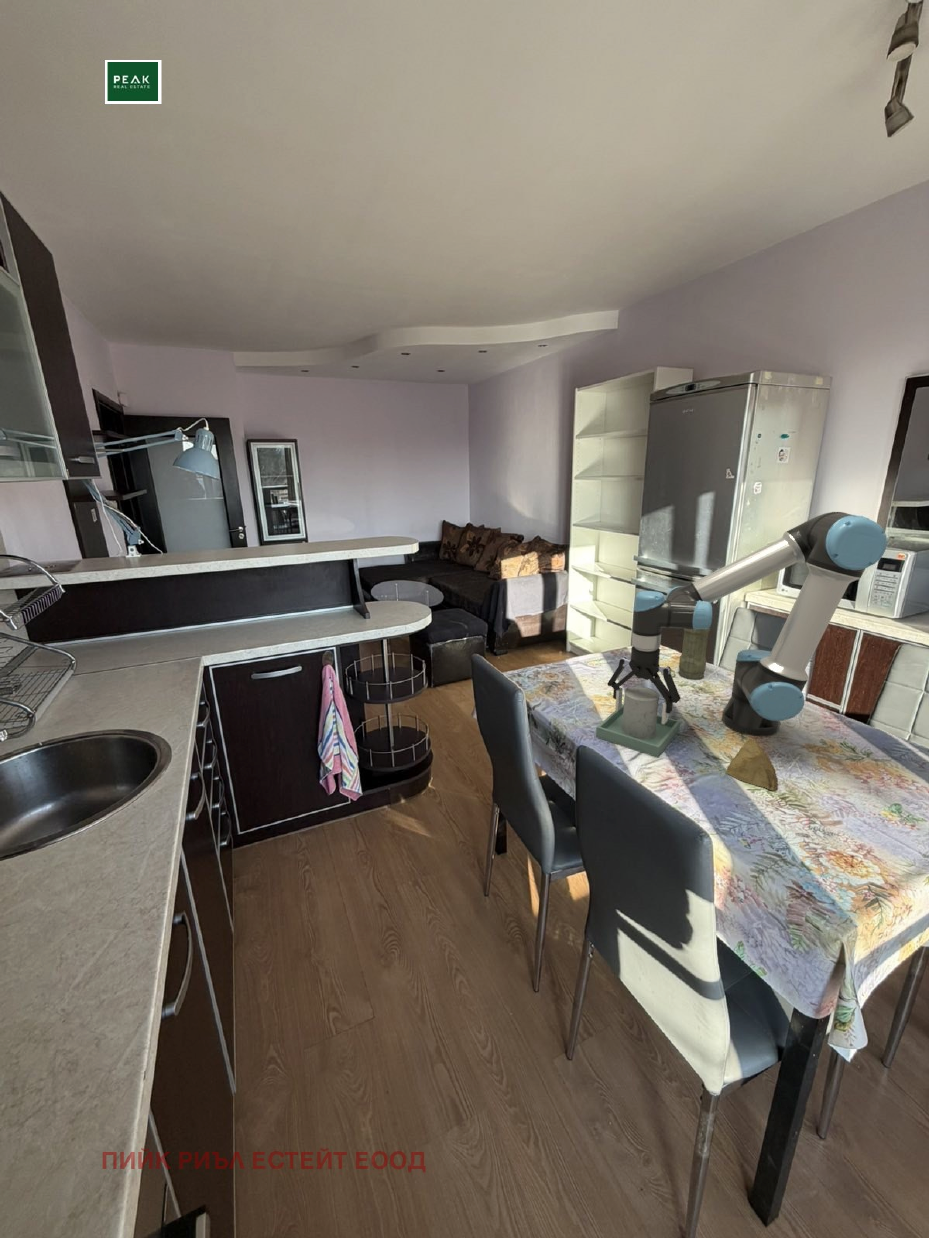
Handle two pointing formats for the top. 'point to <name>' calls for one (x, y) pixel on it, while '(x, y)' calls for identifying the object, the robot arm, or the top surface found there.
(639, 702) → the speckled white canister
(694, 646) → the thermos
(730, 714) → the robot arm
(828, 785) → the top surface
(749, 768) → the rock
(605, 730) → the tray
